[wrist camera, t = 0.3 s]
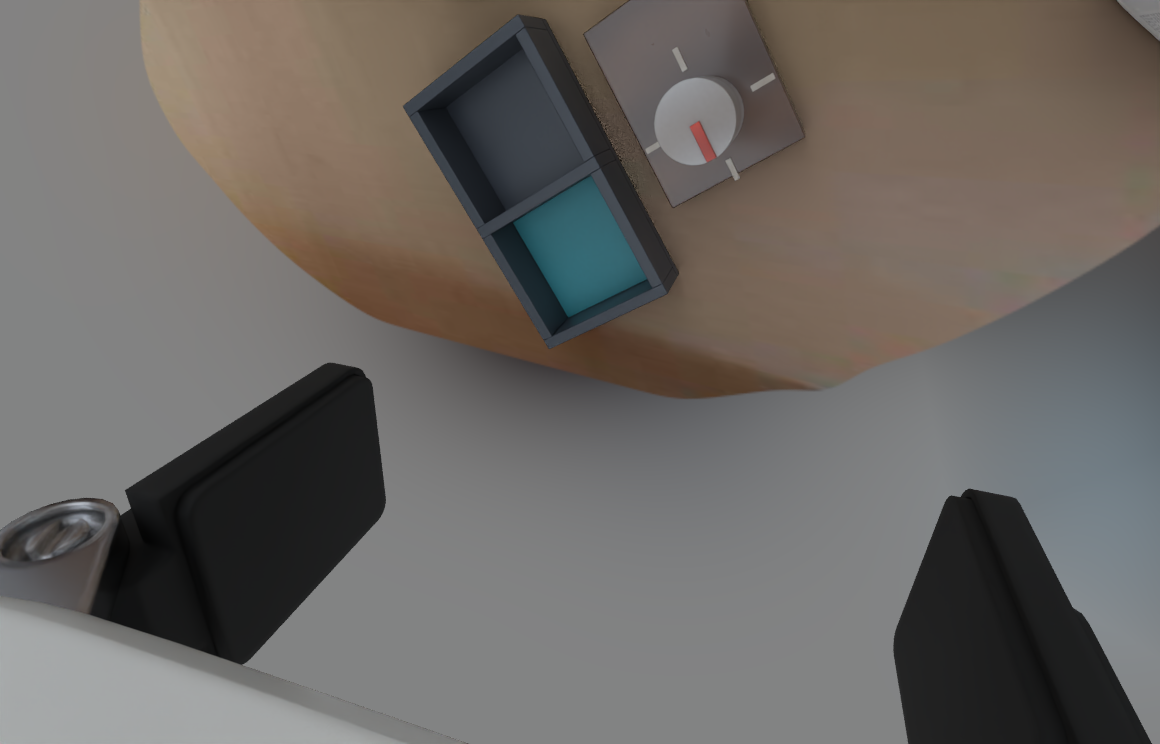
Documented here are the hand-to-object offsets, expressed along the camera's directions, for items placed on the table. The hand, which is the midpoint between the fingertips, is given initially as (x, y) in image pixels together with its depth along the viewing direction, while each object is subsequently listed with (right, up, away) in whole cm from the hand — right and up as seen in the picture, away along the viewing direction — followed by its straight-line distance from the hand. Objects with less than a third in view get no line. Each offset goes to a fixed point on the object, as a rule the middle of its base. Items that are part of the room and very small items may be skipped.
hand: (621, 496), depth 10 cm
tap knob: (+7, +18, +28) cm, 34 cm away
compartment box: (-2, +16, +36) cm, 39 cm away
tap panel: (+7, +21, +30) cm, 37 cm away
